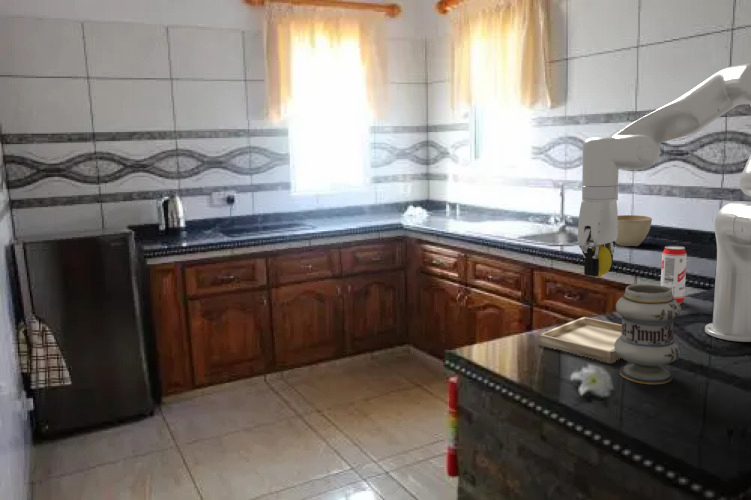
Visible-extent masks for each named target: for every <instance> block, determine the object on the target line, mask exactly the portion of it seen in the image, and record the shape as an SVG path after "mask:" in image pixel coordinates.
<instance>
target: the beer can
mask: <svg viewBox="0 0 751 500" xmlns="http://www.w3.org/2000/svg"><path fill="white" fill-rule="evenodd" d="M685 249H686V248H685V246H680V245H667V246H664V250H663V251H662V253H661V271H660V272H661V273H660V274H661V275H660V286H665V287H669V288H671V289H672V295H673V299H675V300H676V301H677V302H678V303H679V305H681V304H682V303H684V301H685V297H686V296H685V293H686V292H685V291H686V290H685V289H686V275H687V260H688V259H687V255H688V254H687V252H686V250H685Z"/></svg>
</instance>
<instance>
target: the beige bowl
mask: <svg viewBox="0 0 751 500" xmlns="http://www.w3.org/2000/svg"><path fill="white" fill-rule="evenodd" d="M652 222H653V218H652V217H651V216H646V215H639V214H638V215H636V214H635V215H634V214H630V215H629V214H627V215H622V214H621V215H619V214H618V238H617V240H616V242H615V244H617V245H618V246H619V245H620V246H619V247H624V246H635V247H639V246H640V245H641V244H642V242H643V241H644V240H645V239H646V238H647V236H648V234H649V232H650V229H651V227H652Z"/></svg>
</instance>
